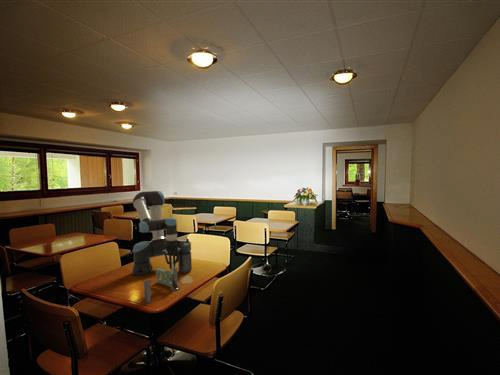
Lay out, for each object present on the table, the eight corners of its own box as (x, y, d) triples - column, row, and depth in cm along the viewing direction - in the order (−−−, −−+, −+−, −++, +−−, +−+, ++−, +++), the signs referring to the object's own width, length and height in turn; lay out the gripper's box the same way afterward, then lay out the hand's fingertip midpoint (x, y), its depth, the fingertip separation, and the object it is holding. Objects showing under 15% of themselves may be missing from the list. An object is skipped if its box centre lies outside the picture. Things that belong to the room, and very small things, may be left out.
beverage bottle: (174, 274, 190) (173, 242, 189) (183, 268, 202) (182, 237, 201) (185, 275, 187) (184, 242, 186) (194, 269, 199) (193, 238, 198)
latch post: (143, 302, 147) (143, 281, 146) (148, 300, 149) (148, 279, 149) (147, 304, 145) (146, 282, 144) (151, 301, 148) (151, 280, 147)
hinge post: (169, 289, 164) (168, 267, 163) (176, 285, 169) (175, 264, 168) (175, 291, 160) (174, 269, 160) (182, 287, 165) (181, 266, 165)
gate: (175, 285, 166) (175, 272, 166) (172, 287, 164) (172, 274, 164) (159, 280, 176) (158, 268, 176) (156, 281, 174) (155, 269, 173)
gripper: (179, 237, 179) (181, 269, 180) (161, 239, 173) (162, 273, 174) (182, 239, 173) (183, 272, 173) (162, 242, 167) (163, 276, 167)
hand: (172, 272), depth 174 cm, fingers closed
